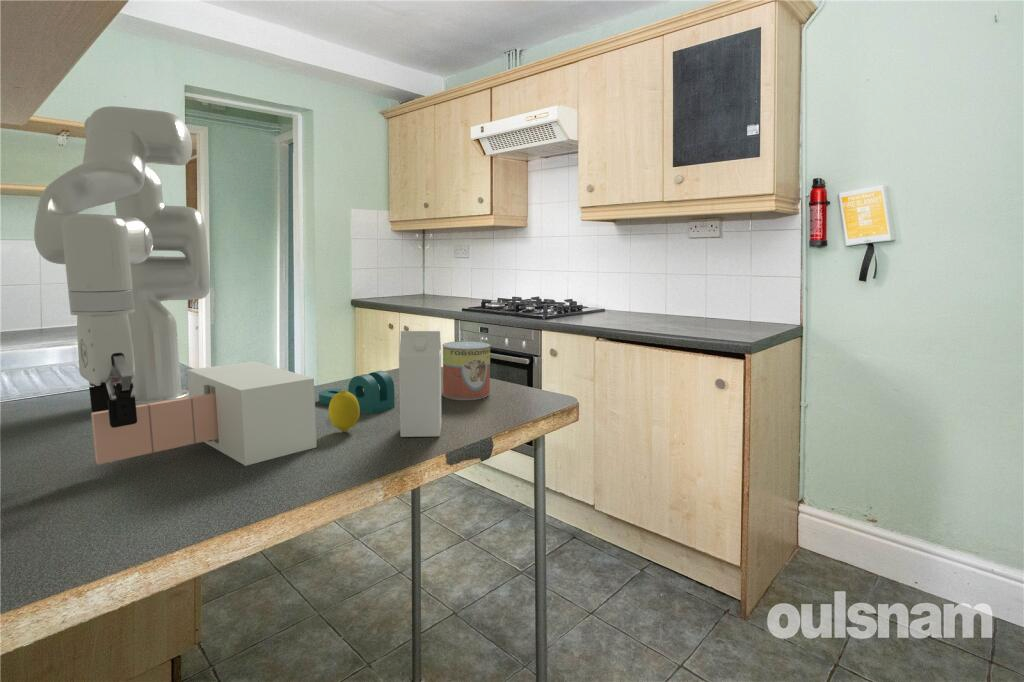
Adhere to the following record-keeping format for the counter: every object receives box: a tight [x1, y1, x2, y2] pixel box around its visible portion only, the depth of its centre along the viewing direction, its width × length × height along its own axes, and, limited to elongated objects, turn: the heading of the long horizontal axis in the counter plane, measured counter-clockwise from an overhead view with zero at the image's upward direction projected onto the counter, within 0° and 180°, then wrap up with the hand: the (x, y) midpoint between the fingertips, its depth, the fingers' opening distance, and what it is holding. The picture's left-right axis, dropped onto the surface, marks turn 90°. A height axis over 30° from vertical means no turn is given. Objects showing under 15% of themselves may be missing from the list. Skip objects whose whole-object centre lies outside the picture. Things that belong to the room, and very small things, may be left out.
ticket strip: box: [90, 393, 218, 466], centre depth 89 cm, size 18×1×8 cm, turn 138°
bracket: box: [318, 370, 395, 415], centre depth 124 cm, size 18×7×8 cm, turn 60°
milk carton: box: [398, 330, 442, 438], centre depth 105 cm, size 7×7×19 cm
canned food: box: [442, 340, 491, 401], centre depth 134 cm, size 11×11×12 cm
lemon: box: [328, 390, 361, 433], centre depth 105 cm, size 6×6×8 cm
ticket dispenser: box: [186, 360, 318, 467], centre depth 98 cm, size 13×22×12 cm, turn 48°
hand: (114, 417), depth 84 cm, fingers open, 9 cm apart
